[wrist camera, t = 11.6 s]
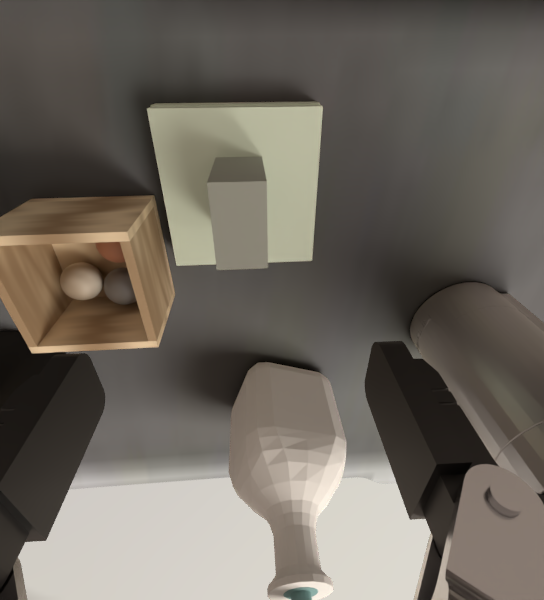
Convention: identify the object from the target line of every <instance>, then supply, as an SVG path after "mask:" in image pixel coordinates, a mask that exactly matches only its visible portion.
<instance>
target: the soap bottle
mask: <svg viewBox="0 0 544 600" xmlns="http://www.w3.org/2000/svg"><path fill="white" fill-rule="evenodd" d="M345 459H346V438H345V435H344V431H343V427H342V424H341V420H340V416H339V413H338V409H337V406H336V402H335V398H334V395H333V391H332V387H331V384H330V382H329V380H328V379H327V378H326V377H325V376H323V375H322V374H321V373H319V372H315V371H310V370H305V369H300V368H295V367H290V366H285V365H280V364H275V363H270V362H258V363H257V364H256V365H254V366H253V367H252V368H251V369H249V370H248V372H247V375H246V377H245V379H244V382H243V384H242V387H241V389H240V391H239V394H238V396H237V398H236V401H235V403H234V406H233V408H232V411H231V431H230V456H229V474H230V478H231V481H232V484H233V487H234V489H235V491H236V493H237V495H238V496H239V497H240V498H241V499H242V500H243V501H244V502H245V503H246V504H247V505H248V506H249V507H250V508H251V509H252V510H253V511H254V512H255V513H257V514H258V515H260V516H261V517H263V518H264V519H265V520H267V521H268V523H269V524H270V527H271V530H272V533H273V535H274V549H275V566H276V576H275V578H274V579H273V581H272V582H271V583H270V584H269V586H268V597H269V599H270V600H319V599H322V598H324V597H326V596H328V595H330V594H331V593H332V591H333V590H334V589H333V583H332V580H331V578H330V577H328V576H327V575H326V574H325V573H324V572H323V571H322V570H321V567H320V560H319V553H318V547H317V540H316V534H315V530H316V521H317V518H318V515H319V514H320V513H321V512H322V511H323V510H324V508H325V507H326V506H327V505H328V503H329V501H330V499H331V497H332V495H333V494H334V492H335V491H336V489H337V487H338V486H339V484H340V482H341V478H342V475H343V472H344V466H345Z"/></svg>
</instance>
